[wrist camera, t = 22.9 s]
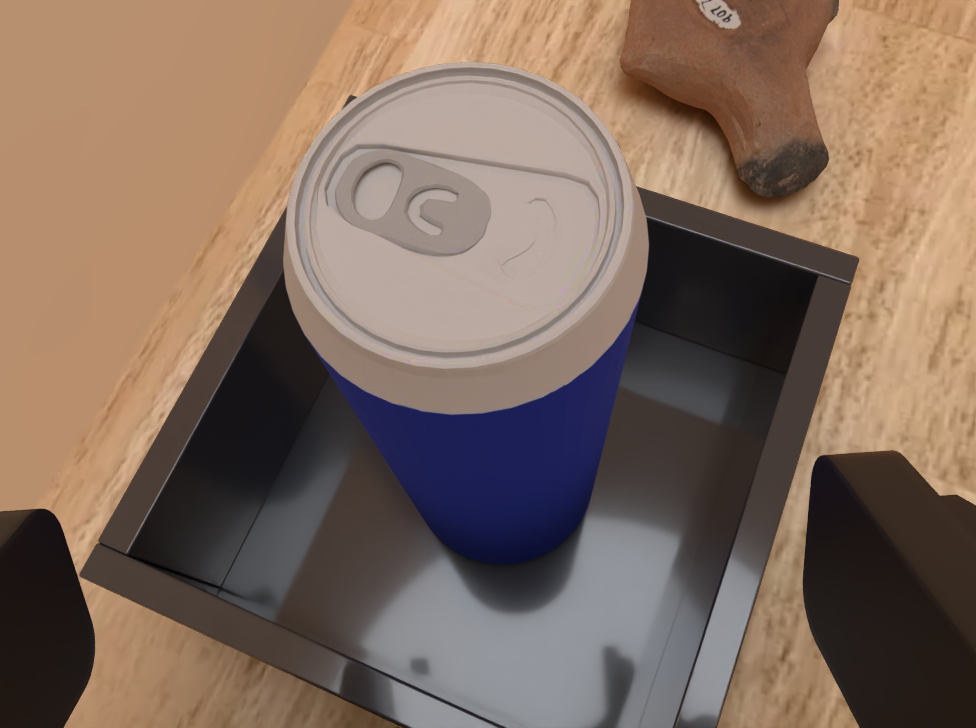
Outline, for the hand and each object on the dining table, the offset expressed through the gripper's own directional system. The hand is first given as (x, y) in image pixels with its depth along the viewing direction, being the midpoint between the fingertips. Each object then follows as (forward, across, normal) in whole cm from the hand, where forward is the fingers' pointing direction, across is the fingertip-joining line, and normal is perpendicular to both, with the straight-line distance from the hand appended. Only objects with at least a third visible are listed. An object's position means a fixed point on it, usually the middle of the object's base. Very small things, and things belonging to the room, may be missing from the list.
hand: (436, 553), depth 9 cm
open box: (+15, 0, +8) cm, 17 cm away
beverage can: (+14, -1, +8) cm, 16 cm away
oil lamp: (+24, -9, -1) cm, 26 cm away
